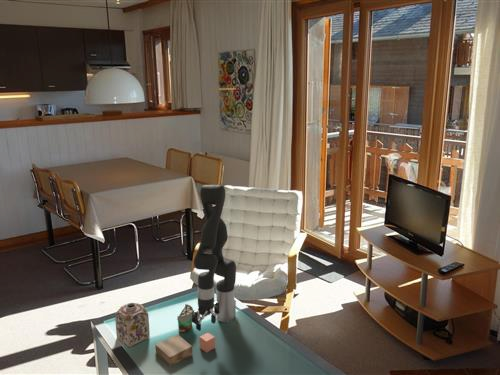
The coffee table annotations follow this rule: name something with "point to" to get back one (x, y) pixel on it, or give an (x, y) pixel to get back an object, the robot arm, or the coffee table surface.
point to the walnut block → (173, 350)
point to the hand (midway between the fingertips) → (206, 326)
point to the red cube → (207, 342)
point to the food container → (185, 319)
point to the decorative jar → (132, 324)
